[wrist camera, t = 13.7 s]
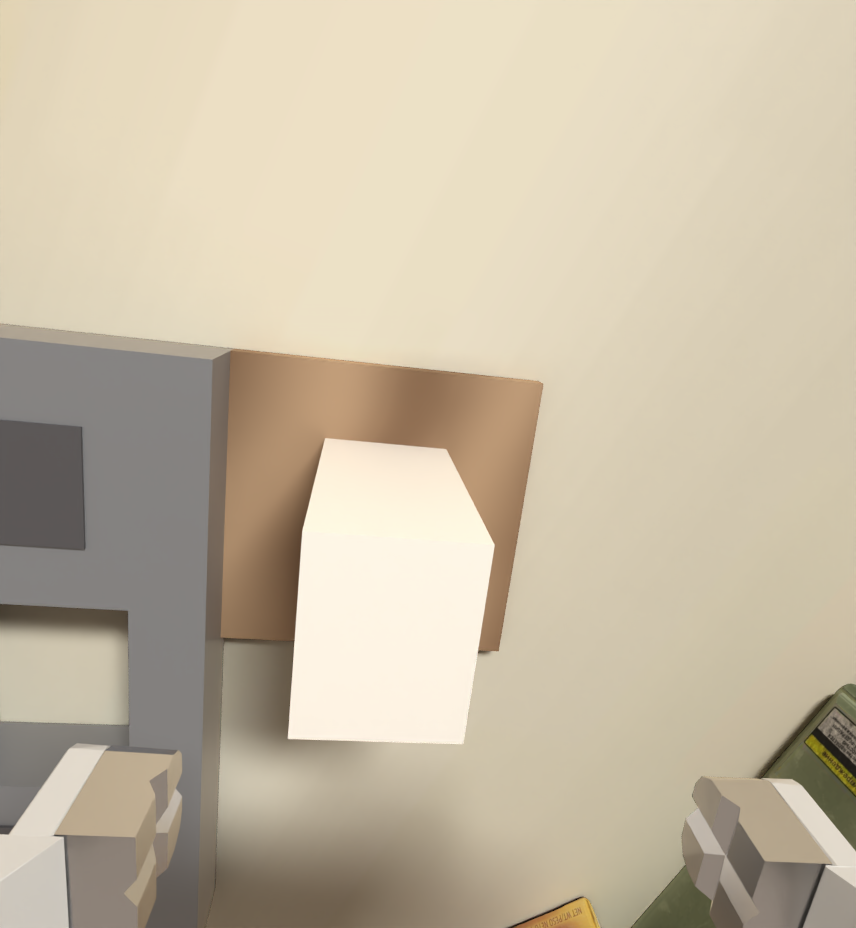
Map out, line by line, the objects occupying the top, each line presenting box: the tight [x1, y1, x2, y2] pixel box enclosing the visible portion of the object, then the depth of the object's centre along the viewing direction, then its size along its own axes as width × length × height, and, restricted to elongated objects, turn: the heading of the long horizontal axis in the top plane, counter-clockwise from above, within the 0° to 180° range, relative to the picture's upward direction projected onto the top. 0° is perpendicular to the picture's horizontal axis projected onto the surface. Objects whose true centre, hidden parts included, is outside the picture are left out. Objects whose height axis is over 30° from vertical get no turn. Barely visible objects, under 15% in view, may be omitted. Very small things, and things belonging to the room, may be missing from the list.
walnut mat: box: [221, 349, 543, 651], centre depth 21 cm, size 10×10×1 cm
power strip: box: [0, 324, 233, 928], centre depth 20 cm, size 10×22×4 cm, turn 173°
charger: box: [288, 438, 495, 744], centre depth 17 cm, size 4×5×8 cm
